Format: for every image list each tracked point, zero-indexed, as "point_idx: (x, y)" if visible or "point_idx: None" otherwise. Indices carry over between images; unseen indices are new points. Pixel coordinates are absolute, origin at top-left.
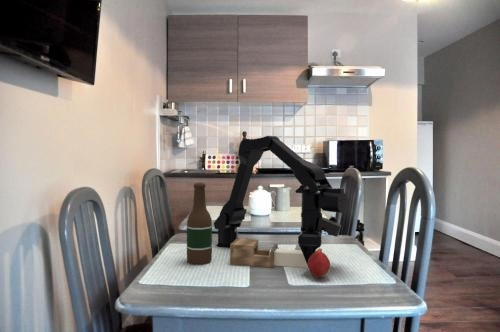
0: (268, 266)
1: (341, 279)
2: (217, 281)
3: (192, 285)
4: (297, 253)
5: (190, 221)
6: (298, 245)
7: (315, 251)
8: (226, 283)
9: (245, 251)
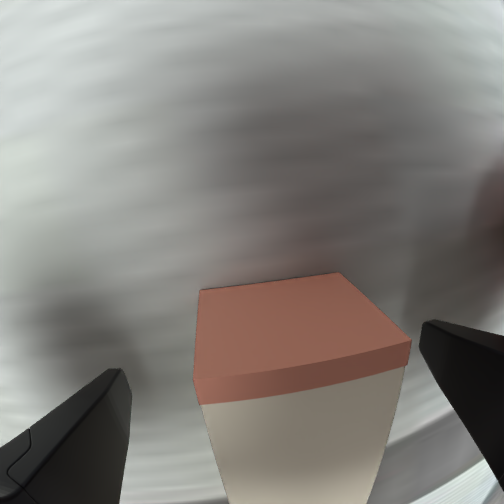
0: None
1: (498, 83)
2: (475, 492)
3: (484, 499)
4: (366, 495)
5: None
6: None
7: (227, 405)
8: (492, 474)
9: None
